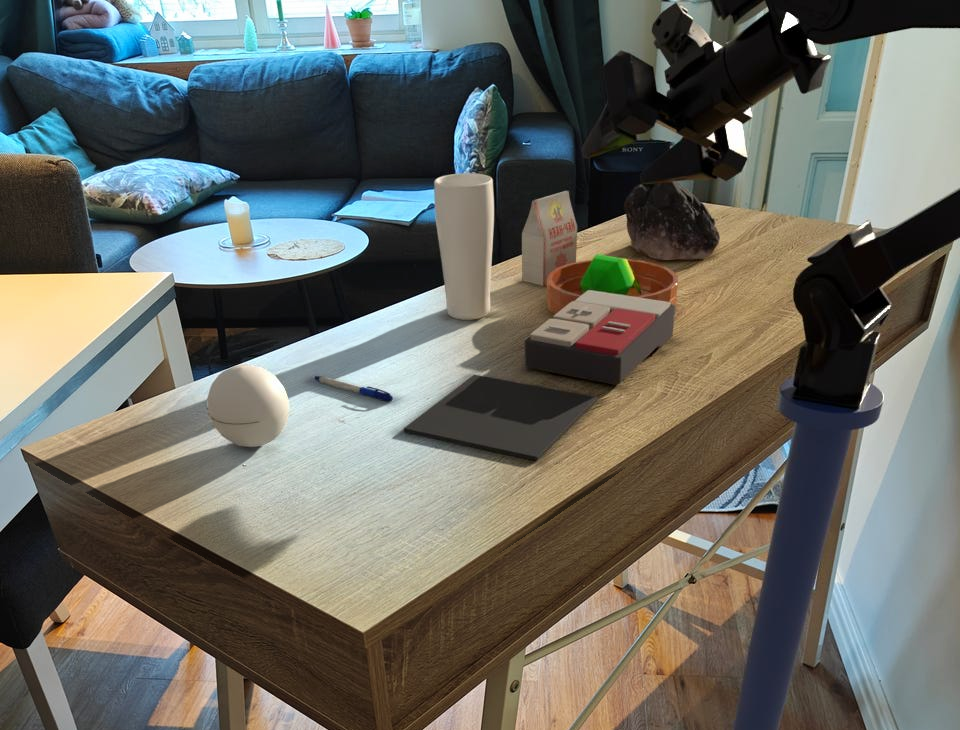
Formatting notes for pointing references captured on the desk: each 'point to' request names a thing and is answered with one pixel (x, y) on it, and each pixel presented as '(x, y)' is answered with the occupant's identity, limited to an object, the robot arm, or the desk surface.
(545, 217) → the white gabled box
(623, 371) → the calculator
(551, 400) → the mat
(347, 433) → the desk surface
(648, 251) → the crystal cluster
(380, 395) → the ballpoint pen
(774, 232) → the desk surface
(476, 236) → the drinking glass
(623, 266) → the green polyhedron
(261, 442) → the seamed sphere
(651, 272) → the bowl
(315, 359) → the desk surface
